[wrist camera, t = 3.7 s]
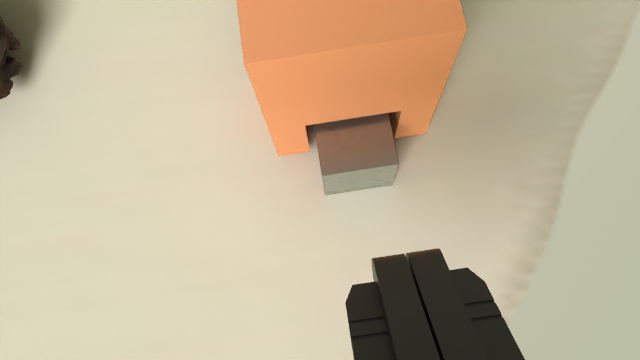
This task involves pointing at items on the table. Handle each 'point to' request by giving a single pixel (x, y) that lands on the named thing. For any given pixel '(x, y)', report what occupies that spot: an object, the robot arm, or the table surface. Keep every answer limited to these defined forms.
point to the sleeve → (348, 61)
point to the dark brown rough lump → (7, 60)
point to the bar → (356, 153)
